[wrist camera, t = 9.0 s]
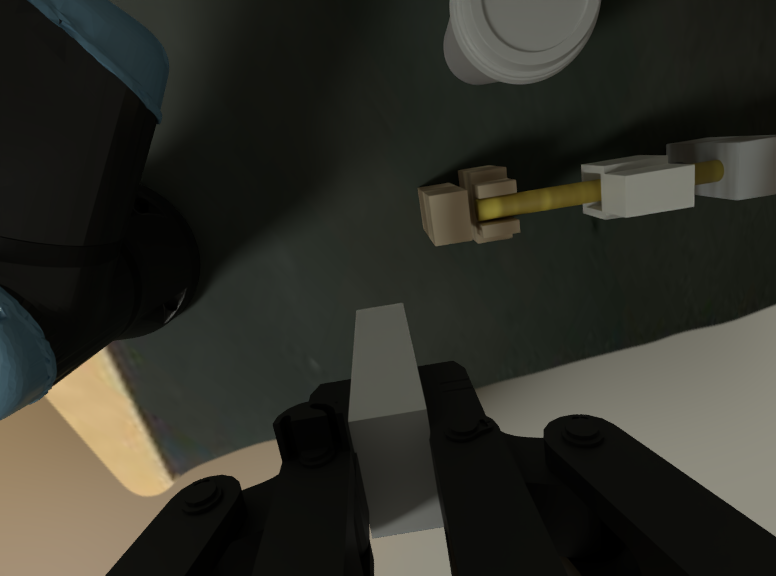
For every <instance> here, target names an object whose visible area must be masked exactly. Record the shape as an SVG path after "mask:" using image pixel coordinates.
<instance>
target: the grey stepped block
mask: <svg viewBox="0 0 776 576" xmlns="http://www.w3.org/2000/svg"><path fill="white" fill-rule="evenodd" d="M581 176H582V182H584V181H590V180H596V179H601V198H602V201H598V202H592V203H586V204H583V213H584V214H588V215H591V216H595V217H598V218H601V219H605V220H607V219H613V218H620V217H625V218H628V217H634V216H640V215H646V214H652V213H658V212H664V211H670V210H676V209H682V208H688V207H694V185H695V165H693V164H670V163H668V155H636V156H630V157H624V158H618V159H612V160H606V161H600V162H594V163H588V164H582V165H581Z"/></svg>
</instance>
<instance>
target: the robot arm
mask: <svg viewBox="0 0 776 576" xmlns="http://www.w3.org/2000/svg"><path fill="white" fill-rule="evenodd" d="M168 74H169V61H168V57H167V54H166V52H165V50H164V47H163V46H162V44H161V43H160V42H159V41H158V39H157V38H156V37H155V36H154V35H153V34H152V33H151V32H150V31H149V30H148V29H147V28H146V27H144V26H143V25H142V24H141V23H139V22H138V21H137V20H136V19H134V18H133V17H131V16H130V15H129V14H127V13H126V12H124V11H123V10H122V9H120V8H119V7H117V6H116V5H114V4H113V3H111V2H110V1H108V0H0V420H2V419H4V418H6V417H8V416H10V415H11V414H13V413H15V412H16V411H18V410H20V409H21V408H23V407H25V406H26V405H29V404H32V403H35V402H36V401H38V400H40V399H41V398H42V397H43V396H44V395H46V394H47V393H48V390H50V389H52V387H53V386H54V385H55V384H57V383H58V382H59V381H61V380H62V379H63V378H65V377H66V376H67V375H69V374H70V373H71V372H73V371H74V370H75V369H76V368H78V367H79V366H80V365H82V364H83V363H84V362H86V361H87V360H88V359H90V358H91V357H92V356H94V355H95V354H96V353H98V352H99V351H100V350H102V349H103V348H104V347H106V346H107V345H108V344H110V343H111V342H112V341H116V340H123V339H130V338H136V337H140V336H144V335H147V334H149V333H152V332H154V331H156V330H158V329H160V328H162V327H163V326H165V325H166V324H168V323H169V322H170V321H171V320H173V319H174V318H175V317H176V316H177V315H178V314H179V313H181V312H182V311H183V309H184V308H185V307H186V306H187V305H188V303H189V302H190V300H191V298H192V297H193V295H194V292H195V290H196V287H197V284H198V280H199V273H200V259H199V252H198V247H197V244H196V241H195V238H194V236H193V233H192V231H191V229H190V227H189V226H188V224H187V222H186V221H185V219H184V218H183V217H182V215H181V214H180V213H179V212H178V211H177V210H176V208H175V207H174V206H173V205H172V204H170V203H169V202H168V201H167V200H166V199H164V198H163V197H162V196H160V195H159V194H157V193H156V192H154V191H152V190H150V189H148V188H146V187H144V186H141V185H139V184H140V180H141V177H142V173H143V170H144V166H145V163H146V159H147V156H148V152H149V148H150V145H151V141H152V138H153V134H154V131H155V127H156V124H160V123H161V120H162V113H161V111H160V109H161V105H162V100H163V96H164V92H165V87H166V83H167V79H168ZM273 428H274V432H275V435H276V439H277V443H278V447H279V451H280V455H281V458H282V465H281V469H280V473H279V474H278V475H276V476H275V477H273V478H271V479H269V480H267V481H265V482H263V483H260V484H258V485H255V486H252V487H250V488H247V489H245V490H241V486H240V483H239V481H238V480H236V479H235V478H234V477H232V476H226V475H217V476H210V477H206V478H203V479H200V480H198V481H195V482H193V483H192V484H190V485H189V486H187V487H185V488H184V489H182V490H181V491H180V492H178V493H177V494H176V495H175V496H174V497H173V498H172V499H171V500H170V501H169V502H168V503H167V504H166V506H165V507H164V508H163V509H162V510H161V511H160V513H159V514H158V515H157V516H156V517H155V518H154V520H153V521H152V522H151V523H150V524H149V525H148V527H147V528H146V529H145V530H144V531H143V532H142V533H141V535H140V536H139V537H138V538H137V539H136V540H135V542H134V543H133V544H132V545H131V546H130V547H129V549H128V550H127V551H126V552H125V553H124V554H123V556H122V557H121V558H120V559H119V560H118V561H117V563H116V564H115V565H114V566H113V567H112V568H111V570H110V571H109V572H108V573H107V574H106V576H374V559H373V554H372V549H371V544H370V540H369V524H370V529H371V533H372V538H379V537H384V536H391V535H397V534H403V533H409V532H415V531H422V530H427V529H434V528H440V527H444V529H445V535H446V542H447V548H448V555H449V561H450V567H451V574H452V576H776V537H775V536H774V535H772V534H771V533H769V532H768V531H767V530H765V529H764V528H762V527H761V526H759V525H758V524H756V523H755V522H754V521H752V520H751V519H749V518H748V517H746V516H745V515H744V514H742V513H741V512H739V511H738V510H736V509H735V508H734V507H732V506H731V505H729V504H728V503H726V502H725V501H724V500H722V499H721V498H719V497H718V496H716V495H715V494H713V493H712V492H710V491H709V490H708V489H706V488H705V487H703V486H702V485H700V484H699V483H698V482H696V481H695V480H693V479H692V478H690V477H689V476H688V475H686V474H685V473H683V472H682V471H680V470H679V469H677V468H676V467H675V466H673V465H672V464H670V463H669V462H667V461H666V460H665V459H663V458H662V457H660V456H659V455H657V454H656V453H655V452H653V451H652V450H650V449H649V448H647V447H646V446H645V445H643V444H642V443H640V442H639V441H637V440H636V439H634V438H633V437H631V436H630V435H629V434H627V433H626V432H624V431H623V430H622V429H620V428H619V427H617V426H616V425H614V424H612V423H610V422H608V421H606V420H604V419H602V418H598V417H594V416H590V415H582V414H580V415H578V414H576V415H568V416H563V417H559V418H557V419H555V420H553V421H551V422H549V423H548V425H547V426H546V427H545V429H544V438H532V437H520V436H513V435H510V434H506V433H504V432H502V431H500V428H499V426H498V425H497V424H496V423H495V421H494V420H493V419H491V418H489V417H487V416H486V415H485V413H484V410H483V408H482V406H481V404H480V401H479V399H478V397H477V395H476V392H475V390H474V388H473V385H472V383H471V381H470V379H469V376H468V374H467V372H466V369H465V368H464V367H462V366H461V365H459V364H458V363H456V362H454V361H448V362H442V363H436V364H430V365H424V366H418V367H417V364H416V360H415V355H414V351H413V346H412V342H411V337H410V333H409V328H408V324H407V319H406V315H405V311H404V306H403V303H398V304H392V305H386V306H380V307H374V308H368V309H362V310H356V323H355V336H354V349H353V363H352V376H351V379H349V380H343V381H337V382H331V383H325V384H320V385H319V386H318V388H317V389H316V390H315V391H314V392H313V393H312V394H311V395H310V399H309V402H305V403H301V404H298V405H296V406H294V407H291V408H289V409H287V410H286V411H284V412H283V413H282V414H280V415H279V416H278V417H277V418H276V420H275V421H274V423H273Z"/></svg>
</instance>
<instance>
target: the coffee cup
mask: <svg viewBox="0 0 776 576" xmlns="http://www.w3.org/2000/svg"><path fill="white" fill-rule="evenodd" d="M600 4H601V0H450V19H449V23H448V26H447V30H446V33H445V37H444V56H445V60H446V62H447V65H448V67H449V68H450V70H451V71H452V73H453V74H454V75H455V76H456V77H457V78H459V79H460V80H462V81H464V82H466V83H469V84H473V85H483V84H489V83H494V82H499V81H501V82H505V83H510V84H529V83H535V82H538V81H542V80H544V79H547V78H549V77H551V76H553V75H555V74H556V73H558V72H560V71H561V70H562V69H564V68H565V67H566V66H567V65H569V64H570V63H571V62H572V61H573V60H574V59H575V57H576V56H577V55H578V54H579V53H580V51H581V50H582V49H583V47H584V46H585V44H586V43H587V41H588V39H589V37H590V35H591V33H592V31H593V29H594V27H595V24H596V21H597V18H598V14H599V10H600Z"/></svg>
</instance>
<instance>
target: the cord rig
mask: <svg viewBox="0 0 776 576" xmlns="http://www.w3.org/2000/svg"><path fill="white" fill-rule="evenodd" d="M666 155H668V163H670V164H693V165H695V185H694V195H702V196H709V197H716V198H724V199H731V200H743V199H749V198H755V197H761V196H767V195H773V194H776V135H757V136H731V137H707V138H701V139H695V140H689V141H683V142H677V143H671V144H666ZM458 177H459V185H460V187H458V186H456V185H453V184H451V183H444V184H438V185H432V186H426V187H420V188H418V193H419V201H420V208H421V215H422V222H423V229H424V230H425V232H426V233H427V235H428V236H429V238H430V239H431V240H432V242H433V243H434V245H435V246H441V245H447V244H453V243H459V242H465V241H471V240H473V239H474V240H475V241H476V242H477V243H484V242H490V241H496V240H502V239H508V238H512V234H513V233H519V232H520V223H519V220H518V219H516V218H514V217H511V216H513V215H519V214H525V213H531V212H537V211H543V210H549V209H555V208H561V207H567V206H574V205H580V204H586V203H592V202H598V201H602V198H601V179H596V180H590V181H584V182H578V183H572V184H566V185H560V186H554V187H548V188H542V189H536V190H530V191H524V192H518V193H517V187H516V180H514V179H509V178H507V171H506V167H500V166H492V165H487V166H481V167H475V168H469V169H463V170H458Z"/></svg>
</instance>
